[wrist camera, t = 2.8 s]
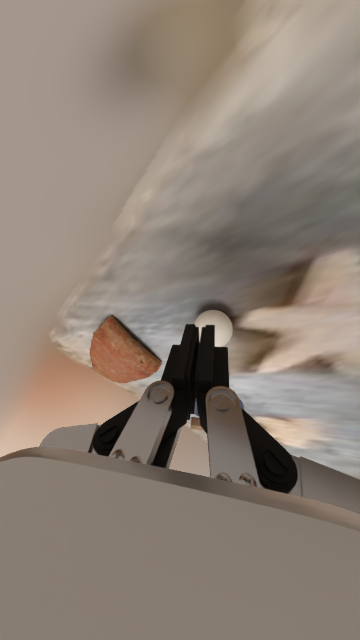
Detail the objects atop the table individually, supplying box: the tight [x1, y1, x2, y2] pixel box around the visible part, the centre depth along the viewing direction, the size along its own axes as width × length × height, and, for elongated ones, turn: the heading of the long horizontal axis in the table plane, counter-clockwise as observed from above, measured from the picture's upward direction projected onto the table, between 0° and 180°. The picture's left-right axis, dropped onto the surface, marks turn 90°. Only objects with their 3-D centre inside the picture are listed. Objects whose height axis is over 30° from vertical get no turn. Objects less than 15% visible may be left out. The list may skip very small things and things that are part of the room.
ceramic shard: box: [90, 316, 161, 383], centre depth 39 cm, size 15×6×15 cm
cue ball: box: [194, 310, 233, 347], centre depth 28 cm, size 6×6×6 cm
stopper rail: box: [191, 417, 204, 430], centre depth 48 cm, size 12×2×2 cm, turn 96°
